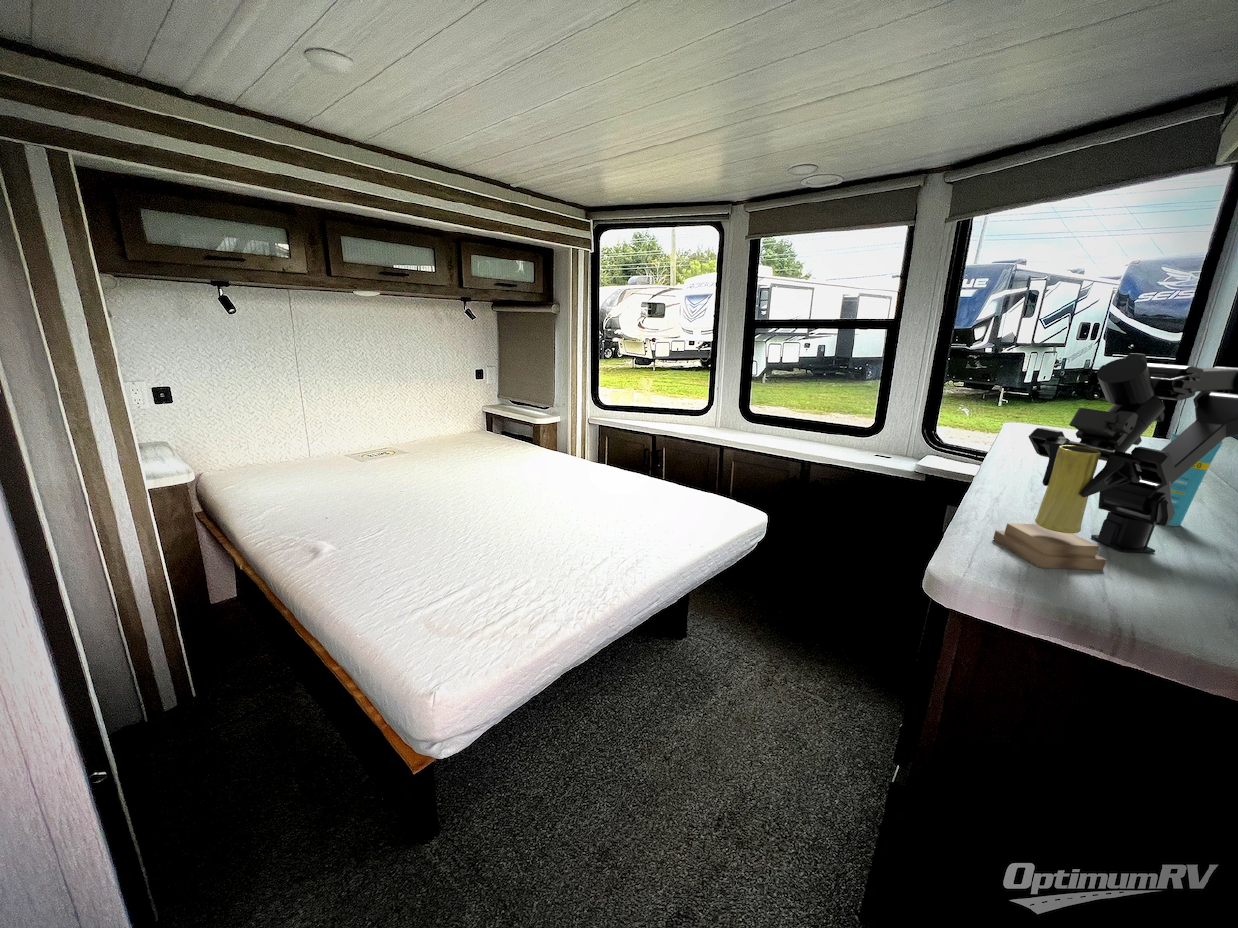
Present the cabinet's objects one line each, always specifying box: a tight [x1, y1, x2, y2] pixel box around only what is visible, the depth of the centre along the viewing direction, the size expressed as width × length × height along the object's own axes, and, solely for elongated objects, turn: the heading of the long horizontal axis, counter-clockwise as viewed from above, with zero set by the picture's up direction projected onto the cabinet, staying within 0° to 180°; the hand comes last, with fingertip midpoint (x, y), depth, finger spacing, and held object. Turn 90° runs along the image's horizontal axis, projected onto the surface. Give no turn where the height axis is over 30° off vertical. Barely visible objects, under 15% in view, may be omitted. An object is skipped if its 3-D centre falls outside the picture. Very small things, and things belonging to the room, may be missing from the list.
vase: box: [1034, 445, 1101, 534], centre depth 83 cm, size 6×6×14 cm
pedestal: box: [992, 522, 1107, 571], centre depth 88 cm, size 11×11×4 cm
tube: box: [1167, 433, 1224, 527], centre depth 102 cm, size 7×5×19 cm, turn 23°
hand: (1062, 489), depth 82 cm, fingers closed on vase, 5 cm apart
